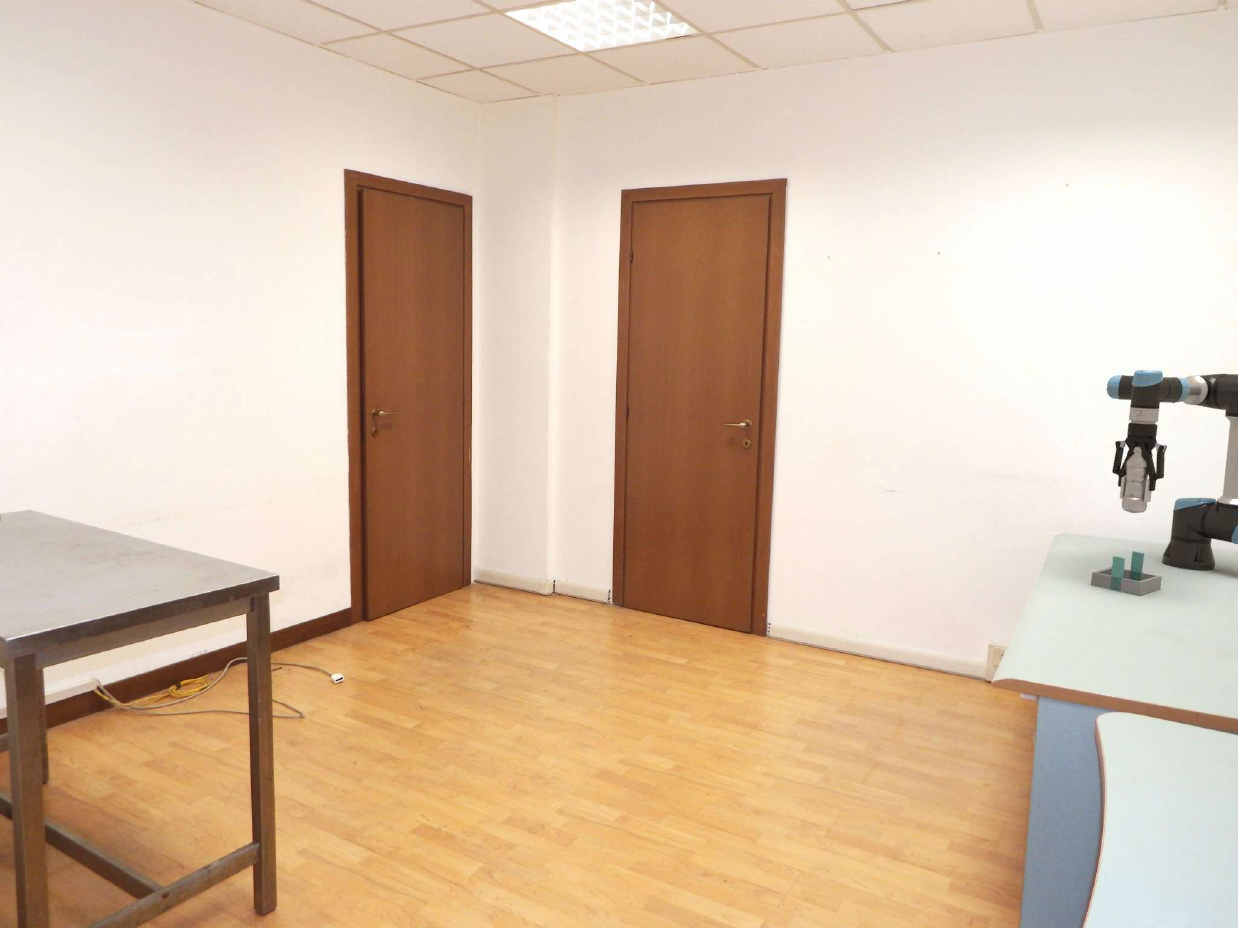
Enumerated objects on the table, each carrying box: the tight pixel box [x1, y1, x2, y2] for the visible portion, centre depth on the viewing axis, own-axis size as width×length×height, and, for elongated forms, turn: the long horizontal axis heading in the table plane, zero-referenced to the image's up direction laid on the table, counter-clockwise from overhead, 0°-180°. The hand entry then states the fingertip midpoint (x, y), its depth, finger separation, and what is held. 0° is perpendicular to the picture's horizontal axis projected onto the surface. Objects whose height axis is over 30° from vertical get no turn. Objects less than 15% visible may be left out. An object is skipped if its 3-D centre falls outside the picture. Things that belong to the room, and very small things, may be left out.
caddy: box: [1090, 550, 1163, 597], centre depth 273 cm, size 14×14×10 cm
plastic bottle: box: [1121, 446, 1149, 514], centre depth 270 cm, size 6×7×20 cm
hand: (1134, 499), depth 270 cm, fingers closed on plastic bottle, 6 cm apart
